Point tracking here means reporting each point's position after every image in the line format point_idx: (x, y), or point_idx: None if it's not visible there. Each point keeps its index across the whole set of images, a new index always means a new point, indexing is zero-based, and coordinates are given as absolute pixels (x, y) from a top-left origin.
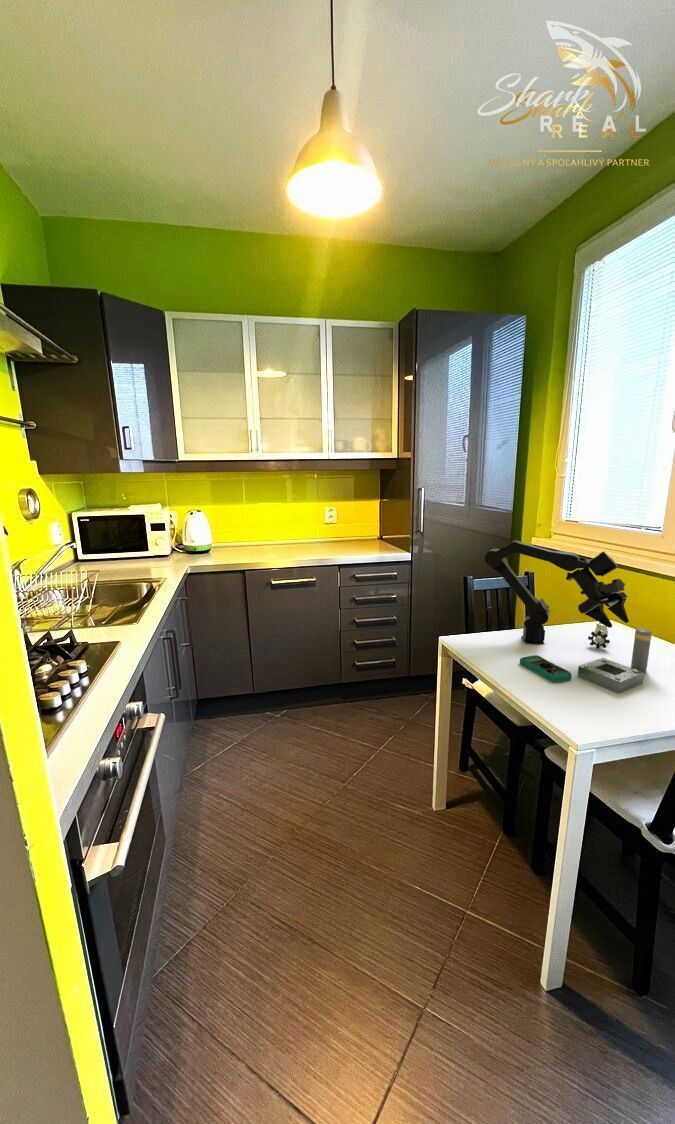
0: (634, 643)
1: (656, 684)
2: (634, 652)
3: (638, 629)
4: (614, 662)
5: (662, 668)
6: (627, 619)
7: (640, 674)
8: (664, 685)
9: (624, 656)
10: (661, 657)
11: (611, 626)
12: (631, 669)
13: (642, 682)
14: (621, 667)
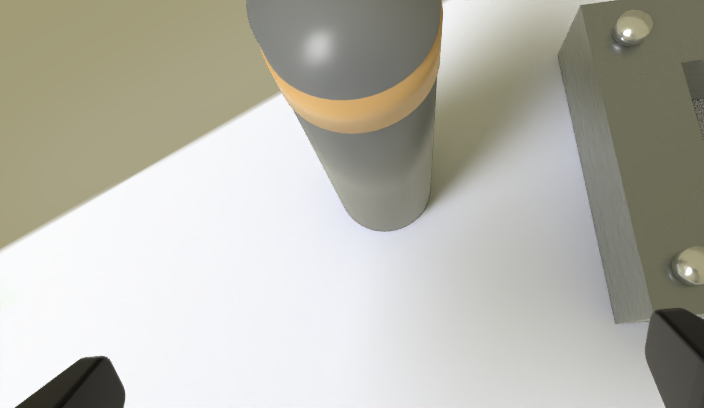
0: (422, 128)
1: (480, 25)
2: (429, 149)
3: (340, 56)
4: (632, 204)
5: (209, 149)
6: (80, 378)
7: (626, 1)
8: (448, 3)
9: (222, 393)
10: (21, 261)
11: (679, 315)
12: (620, 68)
13: (562, 49)
14: (666, 117)
